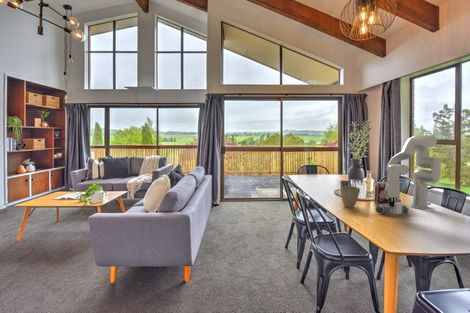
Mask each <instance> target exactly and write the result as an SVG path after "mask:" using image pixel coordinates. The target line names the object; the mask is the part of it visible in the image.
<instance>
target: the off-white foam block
mask: <svg viewBox="0 0 470 313" xmlns="http://www.w3.org/2000/svg"><path fill="white" fill-rule="evenodd" d="M402 205H403V202H402V201H401V202H400V203H395V204H394V207H393V214H402Z"/></svg>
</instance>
